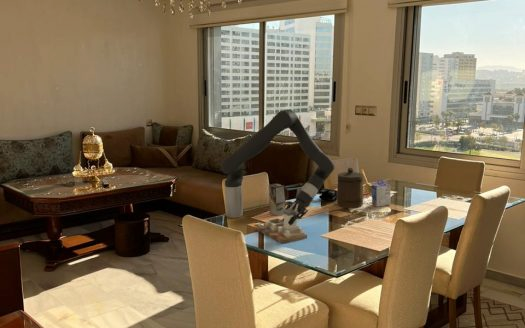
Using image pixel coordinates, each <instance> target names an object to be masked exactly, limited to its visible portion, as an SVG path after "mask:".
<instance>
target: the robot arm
mask: <svg viewBox="0 0 525 328" xmlns="http://www.w3.org/2000/svg"><path fill="white" fill-rule="evenodd" d="M287 129H289V130H290V131H291V132H292V133H293V134H294V136H295V137H296V139H297V141H298V143H299V146H300V148H301V149H302V151H303V152H304V154H305V155H306V156H307V157H308V159H309V160H310V161H312V162H314V163H315V164H316V165H317V168H316V170H315V171H314V172H313V174H312V175H311V176H310V178H308V180H307V182H306V183H305V184H304V185H303V186H301V188H302V189H301V190H300V192H299V193H298V194H297V193H296V195H297V196H296V195H295V200H294V201H293V202H292V201H289V202H288V203H287V204H286V209H285V210H288V209H293V210H294V211H295V213H294V214H293V217H291V219H290V220H289V222H288V224H290V225H292V224H293V223H294V221H295V220H296V221H297V220H301V219H302V218H303V217H304V216H305V215H306V214H307V213H308V212H309V210H308V208H306V206H307V207H309V206H310V205H311V203H312V201H313V200H314V199H315V197H316V196H317V194H318V193H319V191H320V189H322V187H323V185H324V183H325V182H326V180H327V179H328V177H330V175H331V174H332V173H333V171H334V170H335V164H334V162H333V161H332V159H331V158H330V157H329V156H328V155H327V154H326V153H324V152H323V151H322V150H321V148H320V147H319V146H318V144H317V143H316V142H315V141H314V140H313V138H312V137H311V136H310V135H309V133H308V131H307V130H306V129H305V127H304V125H303V124H302V122H301V120H300V119H299V116H298V115H297V113H296V112H295V111H294V110H292V109H284V110H280V111H278V112H277V113H276V114H275V115H274V116H273V117H272V119H270V121H269V122H268V123H267V124H266V125H264V126H263V127H262V128H260V129H259V130H258V131H257V132H255V133H254V134H253V135H252V136H250V137H249V138H248V139H247V140H246V141H245V142H244V143H243V144H242V145H241V146H240V147H238V149H237V150H236V151H234V152H233V153H231V154H230V155H228V156H227V157H226V158H224V159H223V160H222V161H221V165H220V169H221V172H222V173H223V174H225V175H227V177H226V178H225V180H224V195H225V196H224V197H225V199H224V200H225V202H224V203H225V216H226V217H227V218H230V219H237V218H241V217H243V216H244V215H243V214H244V213H243V212H244V211H243V209H244V208H243V190H242V189H243V185H242V182H243V179H244V163H245V162H247V161H249V160H251V159H252V158H254V157H255V156H257V155H259V154H260V153H261V152H262V151H264V150H265V149H266V148H267V147H268V146H269V145H270V144H271V143H272V141H273V139H274V138H276V137H277V136H278V135H279V134H281V132H283V131H285V130H287ZM309 204H310V205H309ZM281 219H282V220H283V221H284V217H283V218H281Z"/></svg>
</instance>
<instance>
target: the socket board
mask: <svg viewBox="0 0 525 328" xmlns="http://www.w3.org/2000/svg"><path fill="white" fill-rule="evenodd" d="M282 219H283V218H281V217H277V218H272V219H267V220H265V221H264V223H265V224H264V225H261V226H256V228H255V230H256V231H258V232H260V233H261V234H263V235H265V236H267V237H269V238H271V239H273V240H275V241H276V242H278V243H280V244H286V243H291V242H296V241H299V240H303V239H307V238H308V235H307V234H306V233H304V232H303V227H301V226H299V225H297V229H293V230H286V229H284V221H283V220H282Z"/></svg>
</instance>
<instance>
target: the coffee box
mask: <svg viewBox="0 0 525 328" xmlns="http://www.w3.org/2000/svg"><path fill="white" fill-rule="evenodd" d="M286 196H287V195H286V186H285V185H282V184H280V183H272V184H268V207H269V209H268V210H269V212H268V213H269V214H270V213H271V214H272V215H274V216H277V217H278V216H279V217H280V216H284V213H283V210H285V209H286V207H287V204H286V203H287V200H286Z"/></svg>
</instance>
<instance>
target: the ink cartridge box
mask: <svg viewBox="0 0 525 328" xmlns="http://www.w3.org/2000/svg"><path fill="white" fill-rule="evenodd" d="M391 188H392V187H391V184H390V183H387V182H384V180H383V179H379V180H377V183H376V184H371V205H372V206H374V207H376V208H378V207H383V206H391V193H392V192H391Z"/></svg>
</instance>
